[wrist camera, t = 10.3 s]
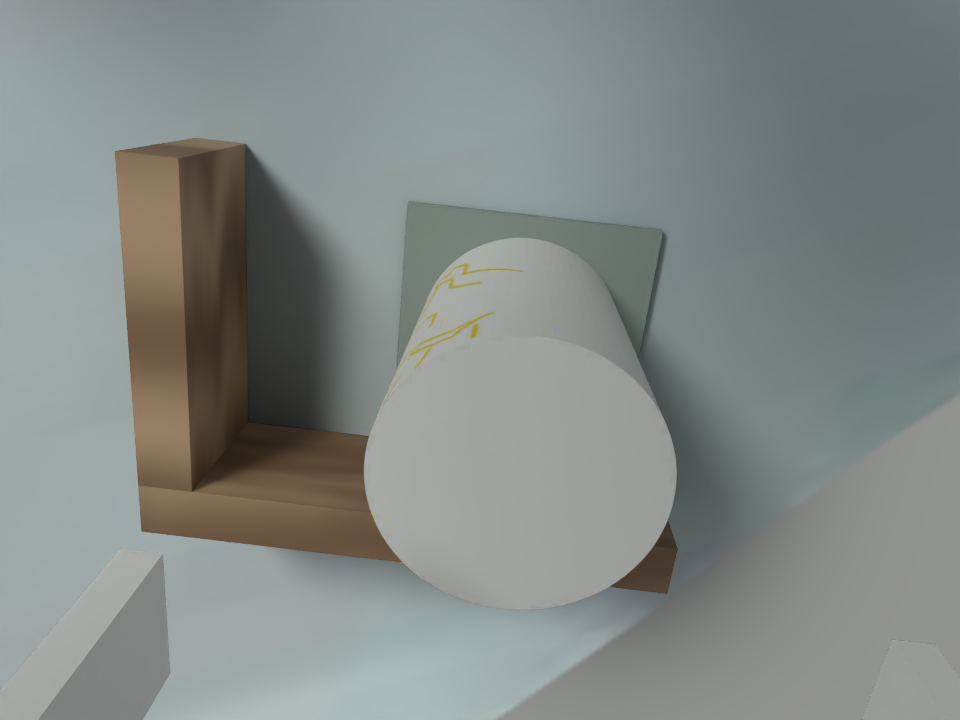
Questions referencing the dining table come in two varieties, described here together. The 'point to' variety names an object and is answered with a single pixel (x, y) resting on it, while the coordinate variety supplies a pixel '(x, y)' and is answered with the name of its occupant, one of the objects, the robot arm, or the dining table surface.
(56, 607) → the dining table surface
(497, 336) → the cup
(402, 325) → the pad
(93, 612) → the robot arm
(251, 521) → the brown wooden l-shaped wall
